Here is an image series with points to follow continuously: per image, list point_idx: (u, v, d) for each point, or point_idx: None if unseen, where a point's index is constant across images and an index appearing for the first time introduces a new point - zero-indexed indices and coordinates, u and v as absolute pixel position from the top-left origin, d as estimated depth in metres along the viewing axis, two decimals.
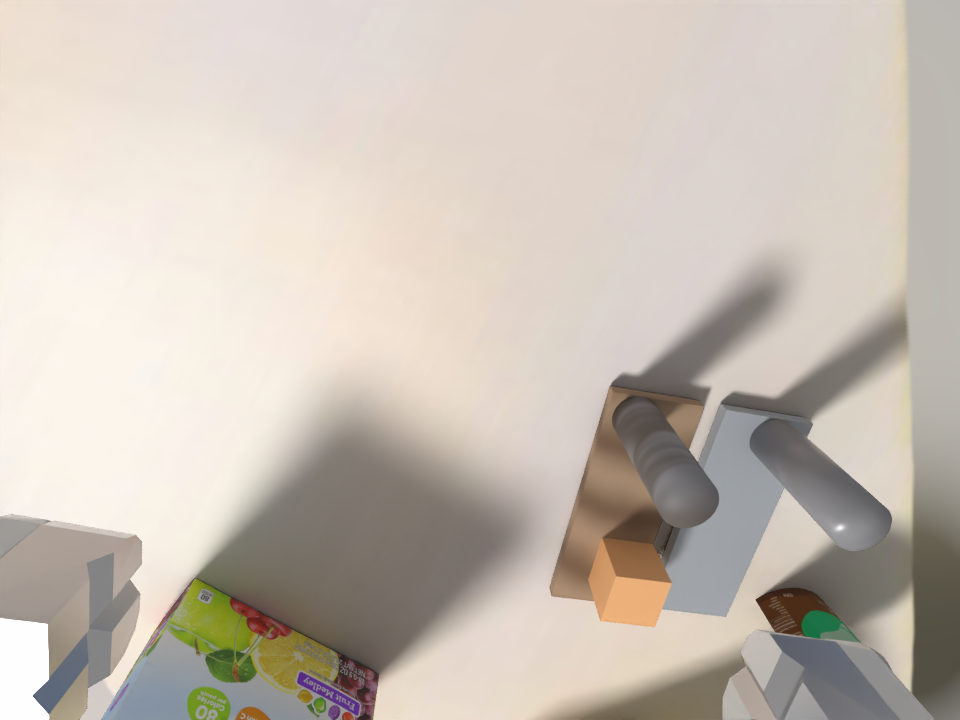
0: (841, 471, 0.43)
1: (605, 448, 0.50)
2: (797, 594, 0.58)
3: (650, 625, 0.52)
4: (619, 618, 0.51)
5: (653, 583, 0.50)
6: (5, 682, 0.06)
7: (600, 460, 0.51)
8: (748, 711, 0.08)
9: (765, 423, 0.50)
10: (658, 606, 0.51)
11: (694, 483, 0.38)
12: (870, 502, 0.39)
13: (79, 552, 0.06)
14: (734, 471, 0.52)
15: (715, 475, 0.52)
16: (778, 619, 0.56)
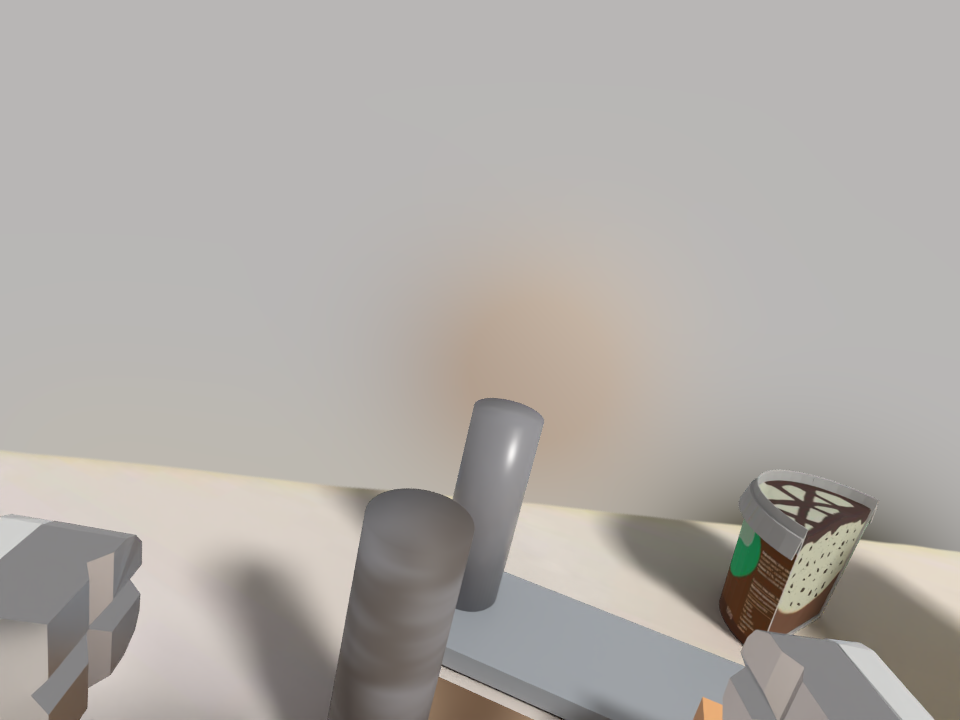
0: None
1: None
2: (724, 603, 0.41)
3: None
4: None
5: None
6: (5, 681, 0.06)
7: None
8: (748, 711, 0.08)
9: None
10: None
11: (381, 505, 0.21)
12: None
13: (79, 551, 0.06)
14: (512, 634, 0.33)
15: (517, 658, 0.32)
16: (760, 607, 0.38)
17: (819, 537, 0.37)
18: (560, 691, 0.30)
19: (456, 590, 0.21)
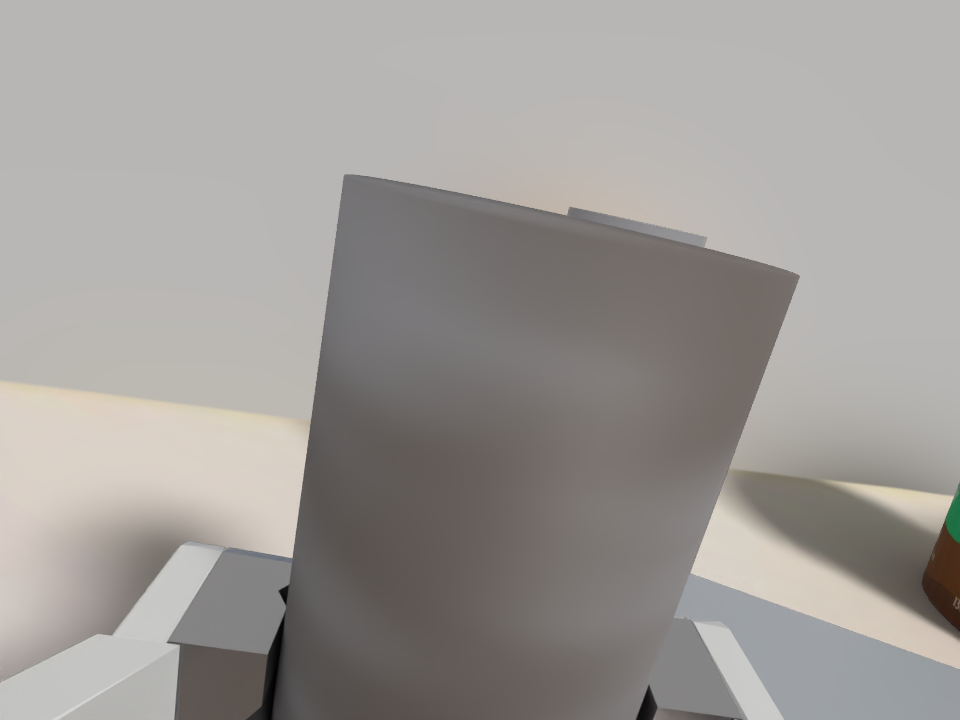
0: None
1: None
2: (945, 592, 0.26)
3: None
4: None
5: None
6: (221, 709, 0.06)
7: None
8: None
9: None
10: None
11: (410, 186, 0.06)
12: (569, 207, 0.17)
13: (267, 579, 0.07)
14: None
15: None
16: None
17: None
18: None
19: (715, 501, 0.05)
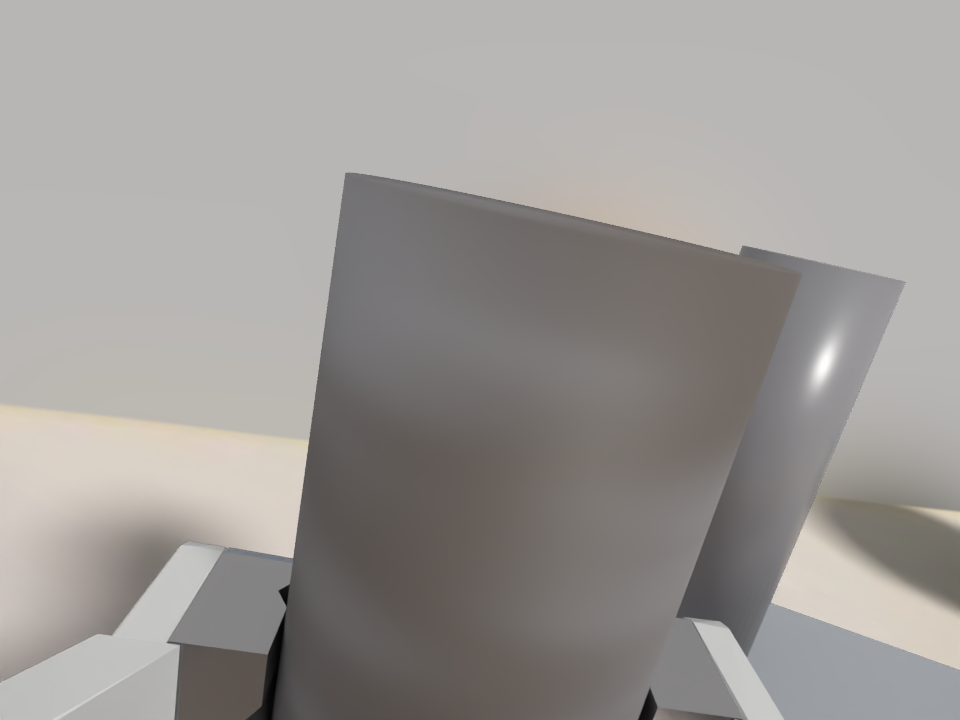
0: None
1: None
2: None
3: None
4: None
5: None
6: (221, 709, 0.06)
7: None
8: None
9: None
10: None
11: (412, 184, 0.06)
12: (745, 246, 0.16)
13: (267, 579, 0.07)
14: None
15: None
16: None
17: None
18: None
19: None
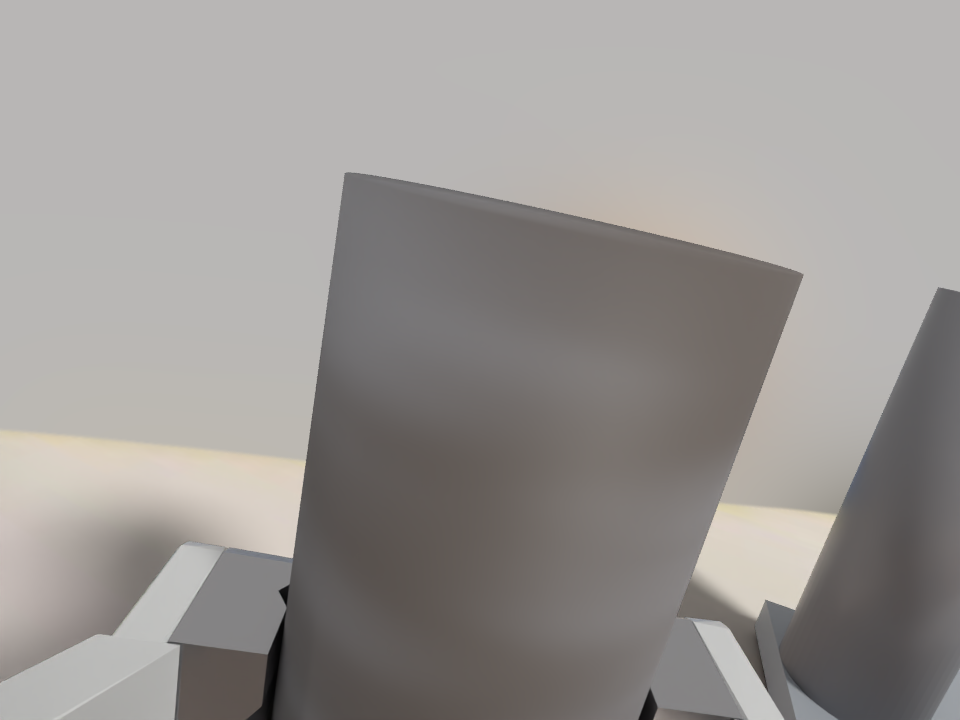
0: (881, 423, 0.16)
1: None
2: None
3: None
4: None
5: None
6: (221, 709, 0.06)
7: None
8: None
9: (810, 689, 0.17)
10: None
11: (411, 184, 0.06)
12: (951, 290, 0.15)
13: (267, 580, 0.07)
14: None
15: None
16: None
17: None
18: None
19: (718, 500, 0.05)
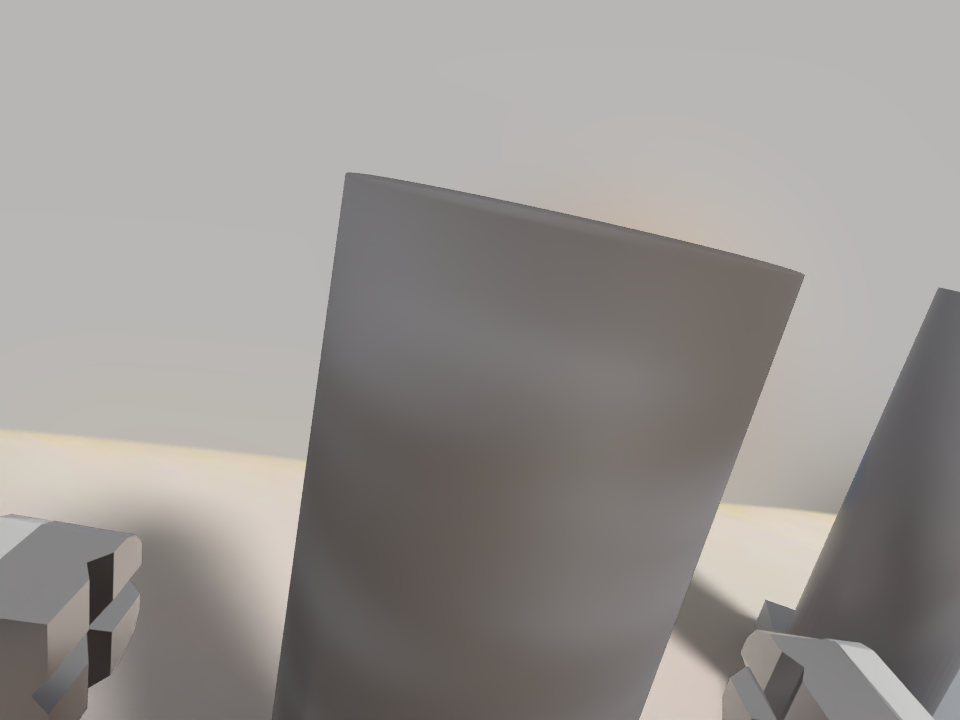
0: (881, 423, 0.16)
1: None
2: None
3: None
4: None
5: None
6: (5, 682, 0.06)
7: None
8: (748, 711, 0.08)
9: None
10: None
11: (412, 184, 0.06)
12: (952, 291, 0.15)
13: (79, 552, 0.06)
14: None
15: None
16: None
17: None
18: None
19: (719, 501, 0.05)
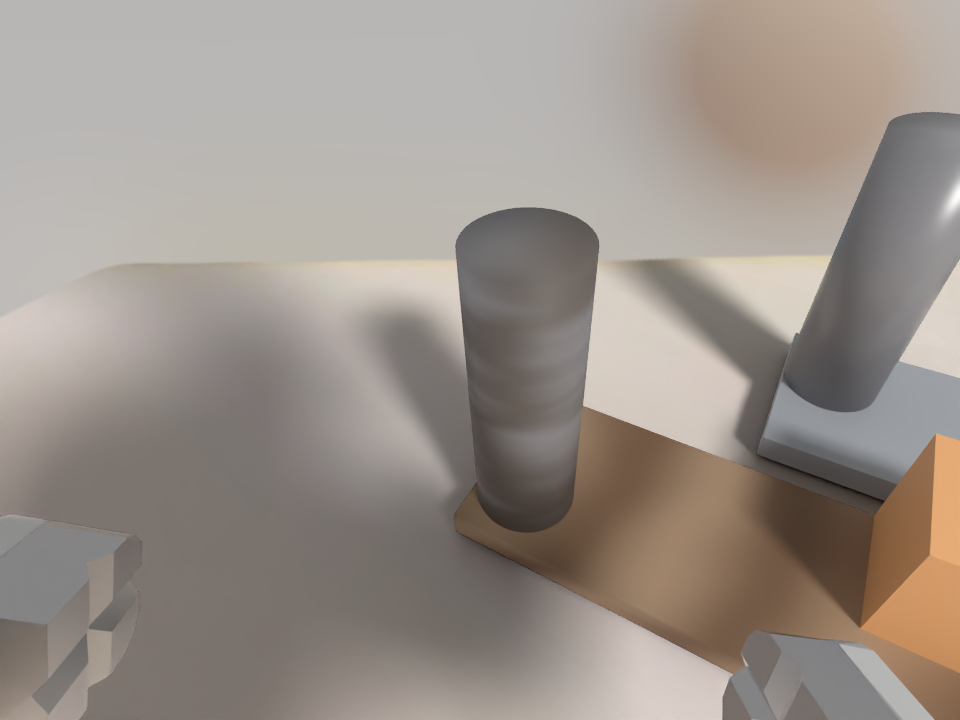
0: None
1: (582, 559, 0.22)
2: None
3: None
4: None
5: (943, 470, 0.18)
6: (5, 682, 0.06)
7: (611, 575, 0.22)
8: (748, 711, 0.08)
9: (793, 385, 0.28)
10: None
11: (477, 232, 0.17)
12: (888, 128, 0.21)
13: (79, 552, 0.06)
14: (915, 440, 0.25)
15: None
16: None
17: None
18: None
19: (582, 326, 0.17)
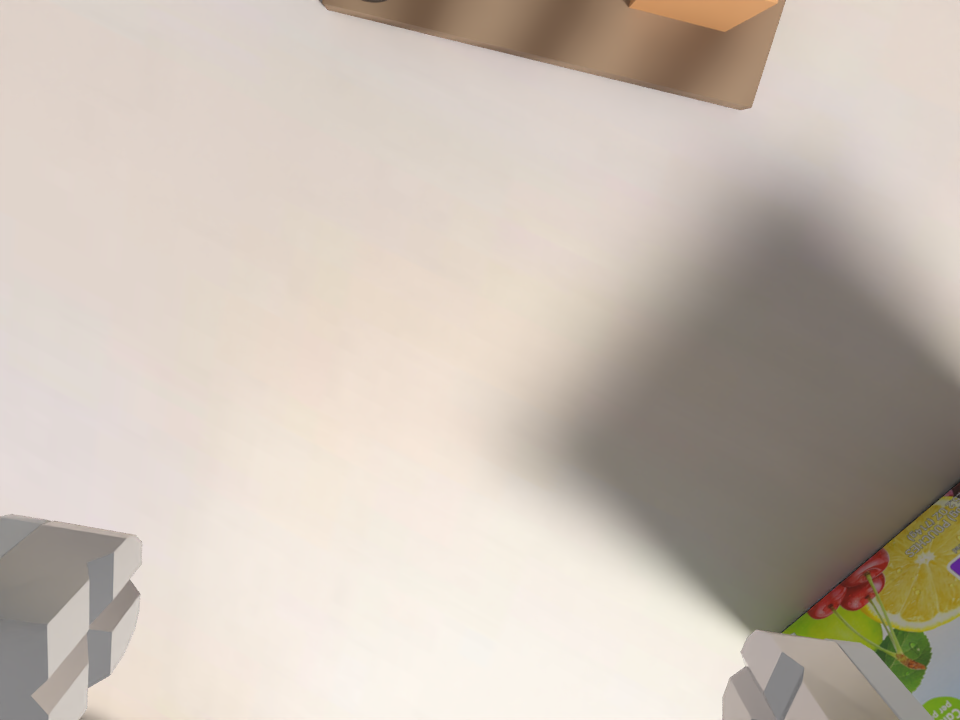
0: None
1: (434, 12, 0.28)
2: None
3: None
4: None
5: None
6: (5, 682, 0.06)
7: (458, 19, 0.28)
8: (748, 711, 0.08)
9: None
10: None
11: None
12: None
13: (79, 552, 0.06)
14: None
15: None
16: None
17: None
18: None
19: None
